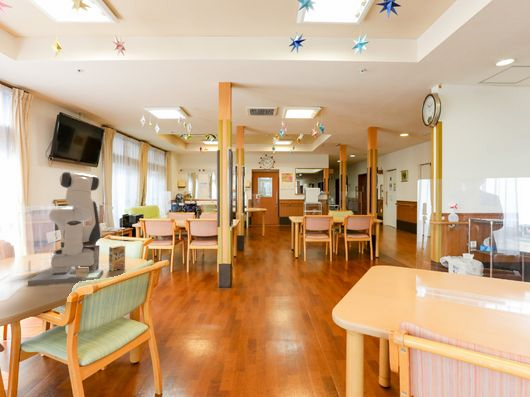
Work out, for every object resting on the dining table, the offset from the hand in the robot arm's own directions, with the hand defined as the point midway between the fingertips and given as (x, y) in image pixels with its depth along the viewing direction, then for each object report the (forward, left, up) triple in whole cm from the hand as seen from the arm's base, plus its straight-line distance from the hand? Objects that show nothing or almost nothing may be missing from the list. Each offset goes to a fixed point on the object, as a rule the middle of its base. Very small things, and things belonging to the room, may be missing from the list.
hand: (72, 274), depth 157 cm
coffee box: (-21, +3, -4) cm, 21 cm away
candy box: (-21, +19, -4) cm, 28 cm away
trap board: (-4, -3, -4) cm, 6 cm away
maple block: (0, +5, -1) cm, 5 cm away
